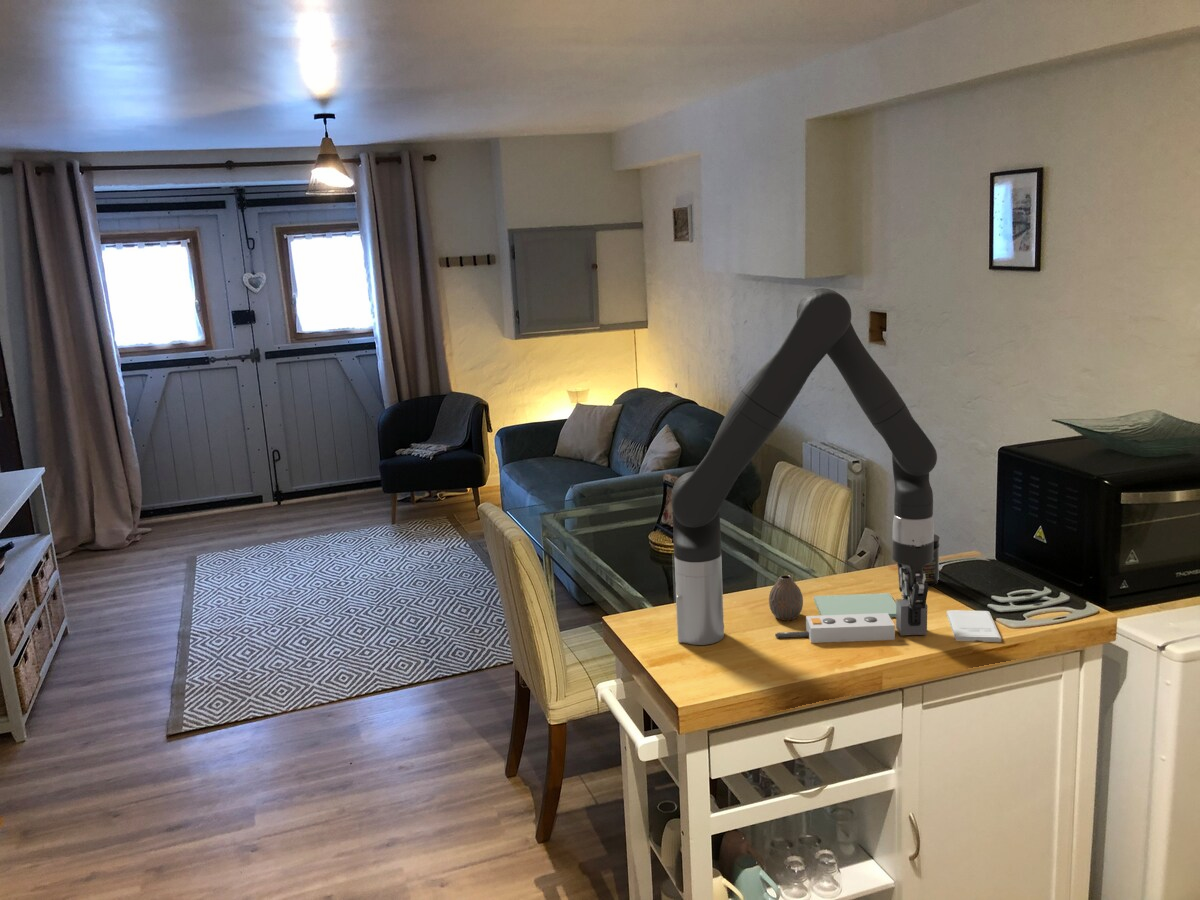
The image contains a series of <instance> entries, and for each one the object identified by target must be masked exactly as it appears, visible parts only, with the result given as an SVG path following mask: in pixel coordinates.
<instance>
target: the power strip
mask: <svg viewBox="0 0 1200 900" xmlns="http://www.w3.org/2000/svg"><path fill="white" fill-rule="evenodd" d="M774 636H775V637H776V638H777V639H781V638H782V639H783V638H802V637H803V638H806V637H808V638H809V641H810V643H811V644H813V643H817V644H818V643H843V642H846V643H847V642H868V641H869V642H870V641H875V642H876V641H894V640H896V624H895V623H894V621H893V620H892V618H890V616H889V614H888V613H873V614H847V615H820V614H819V615H806V616H805V631H786V632H785V631H783V632H775V635H774Z"/></svg>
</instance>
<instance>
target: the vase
mask: <svg viewBox="0 0 1200 900" xmlns="http://www.w3.org/2000/svg"><path fill="white" fill-rule="evenodd" d="M768 605H769V609H770V611H771V613H772V615H773V616H774V617H775V618H776V619H778V620H781V621H792V620H795V619H796V618H797V617H799V615H800V614H801V612H802V610H803V607H804V597H803V593H802V590H801V589H800V587H799V586H798V584H796V582H795V581H794V579H793V576H791V575H788V574H782V575H780V576H779V577H778V579H777V581H776V582H775V583H774V585H773V586H772V587H771V589H770V591H769V596H768Z"/></svg>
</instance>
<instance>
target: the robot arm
mask: <svg viewBox="0 0 1200 900" xmlns="http://www.w3.org/2000/svg"><path fill="white" fill-rule="evenodd" d="M851 320H852V309H851V305H850V303H849V302H848V300H847V299H846V298H845V297H844V296H843V295H842V294H840V293H838V292H837V291H836V290H833V289H829V288H825V287H824V288H822V287H821V288H814V289H812V290H810V291H808V292H806V293H805V294H803V296H802V297H801V298H800V300H799V302H798V305H797V308H796V320H795V322H794V324H793V326H792V327H791V329H790V331H789V333H788V334H787V336H786V338H785V339H784V341H783V342H782V344H781V345H780V347H779V348H778V350H777V351H776V352H775V353H774V354H773V355H772V356H771V357H770V358H769V359H768V360H767V361H766V362H765V363H764V364H763V365H762V366H761V367H760V368H759V369H758V371H756V373H755V374H754V375H753V376H751V378H750V379H749V380H748V381H747V383H746V384H745V385H744V386H743V388H742V389H741V391H740V392H739V393H738V395H737V396H736V398H735V399H734V401H733V402H732V403H731V406H730V407H729V409H728V411H727V412H726V414H725V416H724V418H723V419H722V422H721V423H720V425H719V427H718V430H717V433H716V434H715V436H714V439H713V441H712V443H711V445H710V447H709V449H708V451H707V453H706V454H705V456H704V457H703V459H702V460H701V461H700V463H698V465H697V467H695V469H694V471H689V472H685V473H683V474H682V475H680V477H678V478H677V479H676V480H675V482H674V484H673V486H672V489H671V500H670V503H671V504H670V505H671V510H672V526H673V529H672V531H673V532H672V533H673V534H672V536H673V541H672V542H673V557H674V559H673V560H674V579H675V606H676V608H675V609H676V626H677V627H676V630H677V643H684V644H689V645H694V646H695V645H697V646H706V645H712V644H716V643H718V642H720V641H721V640H722V639H723V638H724V637H725V623H724V597H723V594H724V593H723V592H724V591H723V569H722V568H723V565H722V560H723V559H722V537H721V535H722V532H721V515H720V514H721V508H722V506H723V504H724V503H725V500H726V498H727V497H728V495H729V493H730V491H731V490H732V488H733V486H734V484H735V483H736V481H737V479H738V477H739V476H740V475H741V473H742V472H743V471H744V470H745V469H746V467H747V465H749V463H750V462H751V461H752V459H754V457H756V455H757V453H759V451H760V450H761V448H762V447H763V446H764V444H765V443H767V441H768V439H769V438H770V436H771V435H772V434H773V432H774V431H775V430H776V429H777V427H778V426H779V424H780V423H781V421H782V420H783V419H784V417H785V416H786V414H787V412H788V411H789V409H790V408H791V407H792V404H794V402H795V400H796V399H797V397H798V395H799V394H800V392H801V390H802V389H803V387H804V385H805V384H806V382H807V380H808V379H809V377H810V376H811V374H812V372H813V371H814V369H815V368H816V367H817V366H818V364H819V363H820V362H821V361H822V360H823V359H824V358H825V357H826V355H827V356H828V357H829V358H830V360H831V361H832V362H833V364H834V365H835V367H836V368H837V370H838V372H839V373H840V375H841V376H842V378H843V380H844V382H845V383H846V384H847V387H848V388H849V390H850V392H851V394H852V395H853V397H854V398H855V401H856V402H857V403H858V405H859V407H860V408H861V410H862V411H863V413H864V414H865V416H866V418H867V419H868V421H869V422H870V424H871V425H872V426H873V428H874V429H875V430H876V431H877V432H878V433H879V434H880V436H881V437H882V438H883V440H884V442H885V444H886V445H887V447H888V448H889V450H890V451H891V458H892V459H891V460H892V461H891V462H892V472H893V473H892V474H893V481H894V497H893V498H894V501H893V502H894V503H893V509H894V510H893V519H892V520H893V521H892V539H891V540H892V541H891V542H892V543H891V544H892V545H891V546H892V547H891V548H892V552H891V556H892V557H891V558H892V560H893V561H894V562H895V563H897V564H896V565H897V572H898V573H897V574H898V586H899V587H898V590H899V591H900V594H901V597H902V598H901V599H908V607H909V609H908V623H909V625H910V626H919V625H920V624H921V608H925V606H926V604H927V598H928V597H927V596H928V593H929V587H928V584H927V583H924V581H925V579H926V578H925V572H923V566H925V565H928V564H930V563H931V562H932V561H933V549H934V534H935V525H934V493H933V488H932V486H931V483H930V472H932V471H933V469H934V468H935V467H936V466H937V462H938V461H937V460H938V453H937V450H936V448H935V446H934V444H933V443H932V442H931V440H930V439H929V437H928V435H927V434H926V433H925V432H924V431H923V429H922V428H921V427H920V425H919V424H918V423H917V421H916V420H915V419H914V417H913V416H912V414H911V412H910V409H909V408H908V406H907V405H906V403H905V401H904V400H903V398H902V396H901V395H900V393H899V391H898V390H897V389H896V387H895V386H894V385H893V383H892V382H891V380H890V379H889V378H888V376H887V375H886V374H885V373H884V371H883V370H882V369H881V367H880V366H879V365H878V363H877V362H876V361H875V360H874V358H873V357H872V356H871V354H870V353H869V352H868V350H867V349H866V347H865V346H864V344H863V343H862V341H861V340H860V338H859V336H858V334H857V332H856V331H855V328H854V326H853V324H852V322H851ZM917 600H918V602H916V601H917Z"/></svg>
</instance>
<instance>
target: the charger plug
mask: <svg viewBox="0 0 1200 900" xmlns="http://www.w3.org/2000/svg"><path fill="white" fill-rule="evenodd" d="M916 602H918V600H917V601H916ZM895 603H896V617H895V629H896V630H897V632H898V633H899V635H900V636H922V635H928V604H927V603H926V606H925V608H921V624H920V625H919V626H910V625H909V623H908V609H909V607H908V599H904V598H900V599H899V598H896V600H895Z"/></svg>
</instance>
